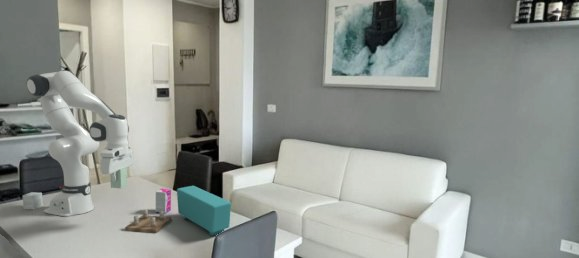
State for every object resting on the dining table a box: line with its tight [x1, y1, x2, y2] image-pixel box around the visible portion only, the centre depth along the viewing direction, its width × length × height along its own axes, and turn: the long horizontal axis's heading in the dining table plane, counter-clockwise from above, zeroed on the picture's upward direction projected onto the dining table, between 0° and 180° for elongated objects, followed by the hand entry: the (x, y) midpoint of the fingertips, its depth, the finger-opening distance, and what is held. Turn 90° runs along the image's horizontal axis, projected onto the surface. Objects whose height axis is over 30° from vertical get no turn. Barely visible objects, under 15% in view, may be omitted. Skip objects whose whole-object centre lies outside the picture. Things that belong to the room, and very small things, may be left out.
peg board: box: [124, 209, 172, 234], centre depth 165 cm, size 15×15×6 cm
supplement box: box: [155, 188, 172, 215], centre depth 183 cm, size 6×6×12 cm
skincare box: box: [22, 191, 44, 210], centre depth 183 cm, size 6×6×7 cm
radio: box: [176, 185, 232, 236], centre depth 167 cm, size 34×10×15 cm, turn 44°
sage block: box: [109, 167, 128, 189], centre depth 164 cm, size 5×5×9 cm
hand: (118, 179), depth 164 cm, fingers closed on sage block, 5 cm apart
